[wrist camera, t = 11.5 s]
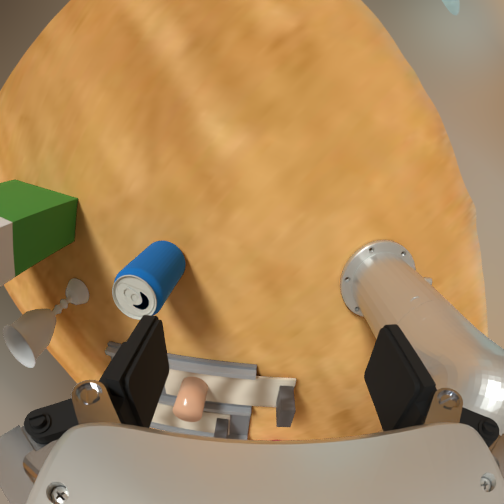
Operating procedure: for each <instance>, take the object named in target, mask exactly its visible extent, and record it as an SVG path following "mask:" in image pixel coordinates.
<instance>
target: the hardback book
mask: <svg viewBox="0 0 504 504" xmlns="http://www.w3.org/2000/svg"><path fill="white" fill-rule="evenodd" d="M77 203H78V198H75V197H72V196H68V195H65V194H61V193H58V192H55V191H51V190H48V189H45V188H41V187H38V186H35V185H31V184H28V183H25V182H21V181H18V180H11V181H7V182H3V183H0V287H1V286H2V285H4V284H5V283H7V282H8V281H10V280H11V279H13V278H14V277H16V276H17V275H19V274H20V273H22V272H24V271H25V270H27V269H28V268H30V267H31V266H33V265H35V264H36V263H38V262H40V261H41V260H43V259H44V258H46V257H48V256H49V255H51V254H53V253H55V252H56V251H58V250H60V249H61V248H63V247H65V246H67V245H68V244H70V243H72V242H74V238H75V224H76V213H77Z"/></svg>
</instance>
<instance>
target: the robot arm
mask: <svg viewBox="0 0 504 504" xmlns="http://www.w3.org/2000/svg"><path fill="white" fill-rule="evenodd" d="M370 248H371V249H370ZM369 249H370V250H369ZM346 277H347V278H346ZM345 278H346V279H345ZM340 290H341V295H342V298H343V300H344V302H345V304H346V305H347V307H348V308H349V309H350V310H351V311H352V312H353V313H355V314H357V315H359V316H362V317H365V319H366V321H367V323H368V325H369V327H370V328H371V330H372V332H373V334H374V336H375V338H376V343H375V346H374V349H373V352H372V354H371V357H370V360H369V363H368V365H367V368H366V371H365V375H364V378H365V382H366V384H367V387H368V390H369V392H370V395H371V398H372V400H373V403H374V406H375V409H376V411H377V414H378V417H379V420H380V423H381V425H382V428H383V429H382V430H380V431H379V432H378V433H372V434H365V435H358V436H350V437H340V438H329V439H315V440H288V441H267V440H240V439H225V438H214V437H205V436H197V435H189V434H182V433H175V432H168V431H162V430H157V429H151V428H149V427H150V424H151V422H152V419H153V416H154V413H155V410H156V407H157V405H158V402H159V399H160V396H161V394H162V391H163V388H164V385H165V383H166V380H167V377H168V375H169V362H168V356H167V350H166V344H165V338H164V331H163V324H162V321H161V320H158V317H157V316H151V315H143V317H142V318H141V320H140V321H139V323H138V324H137V326H136V328H135V329H134V331H133V332H132V334H131V335H130V337H129V339H128V340H127V342H123V343H122V345H121V346H120V348H119V349H118V351H117V352H116V354H115V356H114V357H113V359H112V360H111V362H110V364H109V365H108V367H107V369H106V370H105V372H104V373H103V375H102V377H101V378H100V380H99V381H96V380H85V381H82V382H80V383H78V384H77V385H76V386H75V387H74V388H73V390H72V393H71V396H72V398H71V399H68V400H65V401H62V402H59V403H56V404H53V405H50V406H46V407H43V408H40V409H36V410H34V411H32V412H30V413H29V414H28V415H27V417H26V418H25V421H24V426H23V427H20V426H19V425H18V426H16V427H15V428H13V429H12V430H10V431H8V432H7V433H5V434H4V435H2V436H0V487H1V489H2V491H3V492H4V494H5V496H6V497H7V499H8V501H9V502H10V504H504V349H502V348H501V347H500V346H498V345H497V344H496V343H494V342H493V341H492V340H490V339H489V338H488V337H486V336H485V335H484V334H483V333H482V332H480V331H479V330H478V329H477V328H475V327H474V326H473V325H472V324H471V323H470V322H469V321H468V320H467V319H466V318H465V317H464V316H463V315H462V314H461V313H460V312H459V311H458V310H457V309H456V308H455V307H454V306H452V305H451V304H450V303H449V302H448V301H447V300H446V299H445V298H444V297H443V296H442V295H441V294H440V293H439V292H438V291H437V290H436V289H435V288H434V287H433V286H432V279H431V278H427V277H424V278H423V277H422V276H421V275H420V274H419V273H418V272H416V268H415V263H414V260H413V258H412V256H411V254H410V253H409V252H408V250H407V249H405V248H404V247H403V246H402V245H400V244H398V243H396V242H394V241H390V240H378V241H374V242H371V243H368V244H366V245H364V246H362V247H361V248H360V249H358V250H357V251H356V252H355V253H354V254H353V255H352V256H351V257H350V259H349V260H348V261H347V263H346V265H345V267H344V269H343V271H342V275H341V279H340Z"/></svg>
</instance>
